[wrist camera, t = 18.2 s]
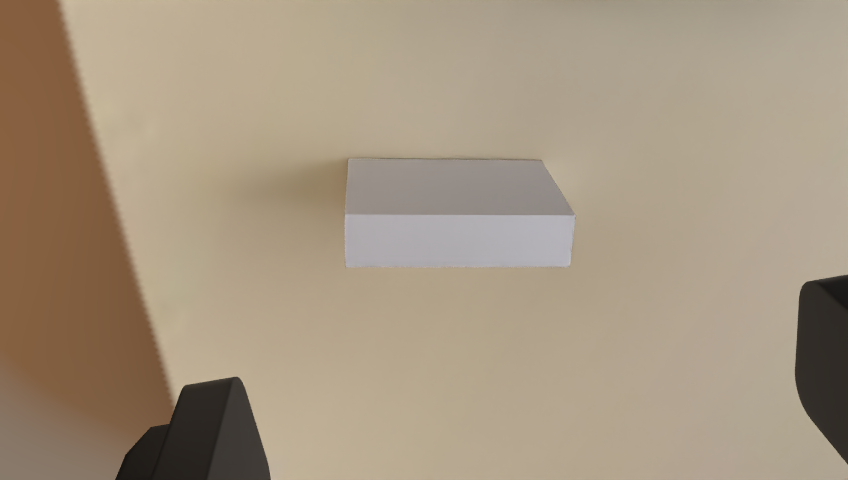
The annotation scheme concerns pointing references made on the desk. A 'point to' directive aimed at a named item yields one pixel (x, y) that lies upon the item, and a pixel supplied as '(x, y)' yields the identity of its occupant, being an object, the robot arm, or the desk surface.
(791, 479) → the desk surface
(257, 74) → the desk surface
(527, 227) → the eraser
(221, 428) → the robot arm
